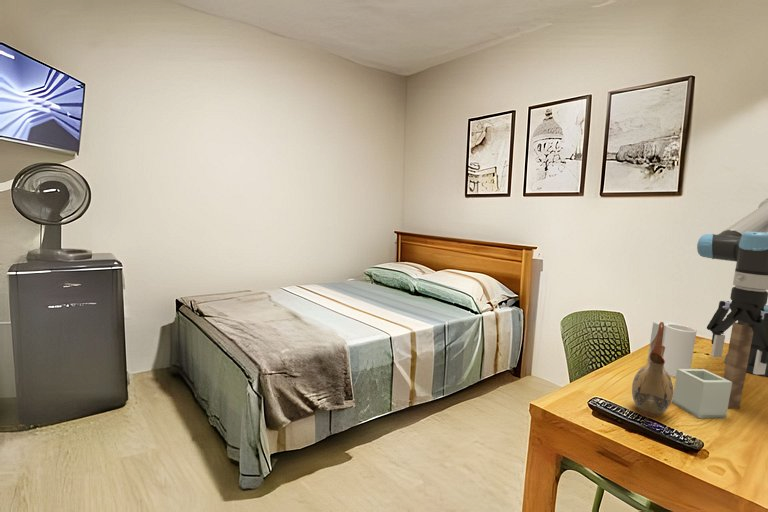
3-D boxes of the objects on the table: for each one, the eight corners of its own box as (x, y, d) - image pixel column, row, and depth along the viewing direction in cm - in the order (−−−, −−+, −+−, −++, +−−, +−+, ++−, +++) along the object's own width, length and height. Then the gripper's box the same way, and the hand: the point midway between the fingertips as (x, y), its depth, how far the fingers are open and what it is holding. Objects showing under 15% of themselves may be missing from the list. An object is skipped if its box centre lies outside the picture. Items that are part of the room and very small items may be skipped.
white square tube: (697, 402, 117) (703, 368, 116) (725, 417, 109) (732, 382, 108) (671, 402, 116) (677, 369, 115) (698, 418, 108) (704, 382, 106)
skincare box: (665, 360, 150) (671, 320, 148) (680, 366, 144) (686, 326, 142) (646, 360, 148) (652, 321, 146) (660, 367, 143) (666, 326, 141)
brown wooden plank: (730, 403, 118) (745, 322, 114) (739, 407, 115) (754, 325, 112) (718, 403, 117) (733, 322, 114) (727, 408, 115) (742, 325, 111)
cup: (694, 379, 133) (702, 332, 131) (666, 376, 135) (673, 329, 133) (681, 370, 141) (688, 325, 139) (655, 366, 143) (662, 322, 141)
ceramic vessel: (669, 432, 100) (685, 333, 97) (626, 419, 105) (640, 325, 102) (668, 406, 114) (682, 319, 110) (631, 396, 119) (643, 312, 115)
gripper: (699, 279, 123) (687, 349, 126) (786, 298, 99) (769, 383, 102) (721, 280, 124) (709, 349, 127) (812, 299, 101) (795, 383, 103)
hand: (736, 364), depth 115 cm, fingers open, 11 cm apart
